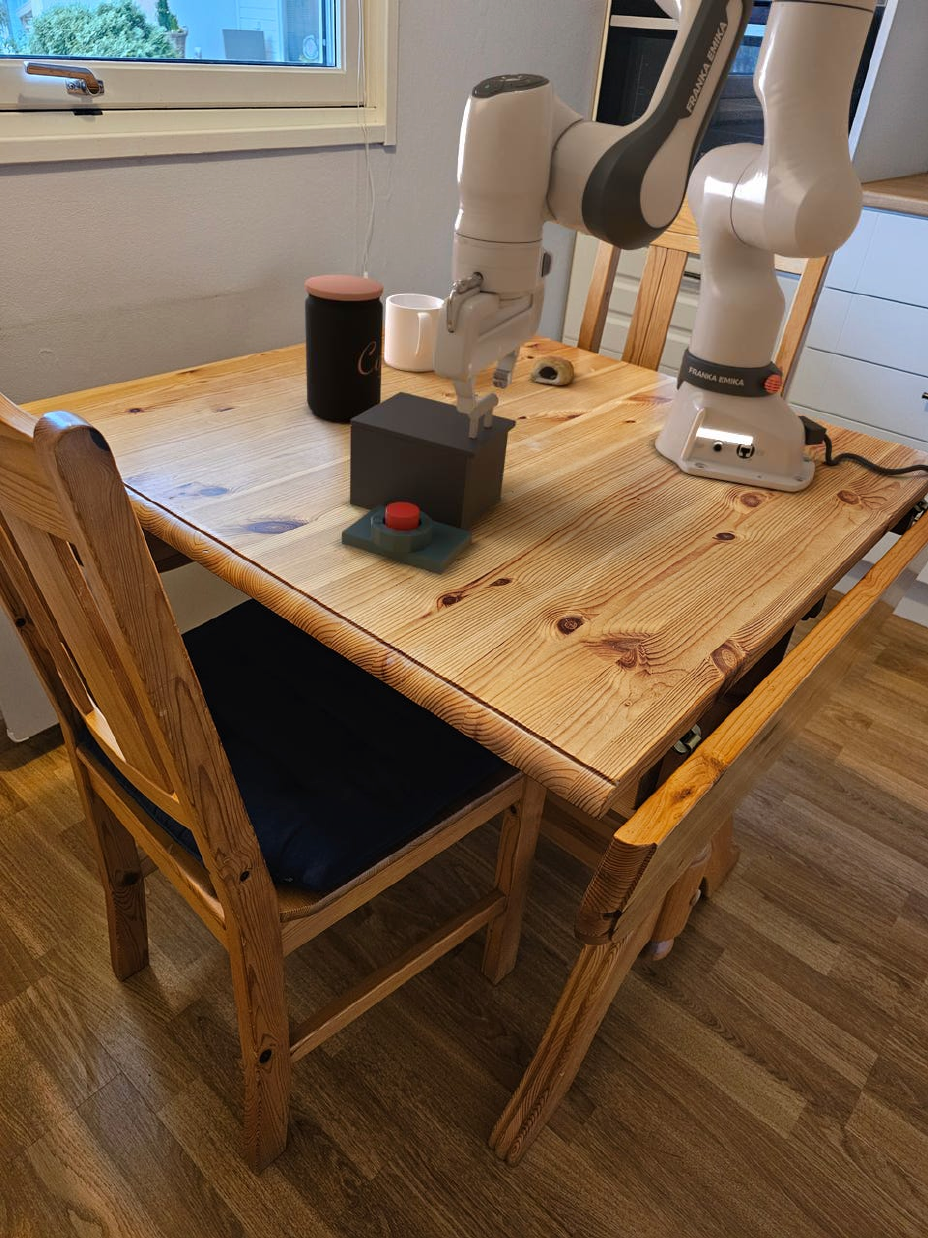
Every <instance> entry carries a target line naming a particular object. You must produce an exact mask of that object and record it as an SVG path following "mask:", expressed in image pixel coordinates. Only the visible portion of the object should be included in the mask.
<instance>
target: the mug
mask: <svg viewBox="0 0 928 1238" xmlns="http://www.w3.org/2000/svg"><path fill="white" fill-rule="evenodd" d="M443 301H444V299H441V298H439V297H436V296H433V295H428V294H427V295H426V294H420V293H398V294H397V293H396V294H393V295H389V296H387V298H386V300H385V324H384V325H385V327H384V362H385V364H386V365H387V366H389V367H390V368H393V369H396V370H399V371H404V372H411V373H424V372H432V371H434V368H433V354H434V344H435V335H436V327H437V320H438V314H439V310H440V307H441V304H442V302H443Z"/></svg>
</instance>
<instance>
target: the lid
mask: <svg viewBox="0 0 928 1238" xmlns="http://www.w3.org/2000/svg"><path fill="white" fill-rule="evenodd" d="M498 404H499V397H498V395H497V394H496V393H494V392H488V393H486V394H485V395H484V396H482V397H481V398H478V402H477V408H476V410H474V411H473V412H472V413H470V414H466V413H462V412H459V411H458V410H457V404H456V405H455V404H451V403H447V402H443V401H440V400H435V399H431V398H428V397H423V396H419V395H416V394H411V393H408V392H403V391H399V392H398V393H396V394H394V395H392V396H390V397H389V398H387V399H385V400H383V401H382V402H381V401H380V404H378V405H376V406H374V407H372V408H371V409H369V410H367V411H365V412H363V413H362V414H360V415H358V416H356V417H354V418H353V419H351V423H349V424H350V427H351V426H355V427H359V428H362V429H366V430H370V431H373V432H377V433H381V434H384V435H388V436H392V437H395V438H399V439H403V440H406V441H410V442H414V443H417V444H421V445H425V446H428V447H432V448H436V449H439V450H443V451H447V452H451V453H454V454H458V455H462V456H465V457H469V458H473V459H475V458H476V457H477V456H478V455H480V454H481V453H482V452H484V451H485V450H486V449H487V448H489V447H490V446H491V445H492V444H494V443H495V442H496V441H497V440H499V439H500V438H501V437H502V436H504V435H505V434H506V433H508V434H509V432H510V431H511V430H513V429H515V427H516V426H517V425H516V424H517V420H515V419H511V418H507V417H503V416H499V415H495V414H494V408H495V407H496V406H497V405H498Z"/></svg>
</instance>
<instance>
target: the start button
mask: <svg viewBox="0 0 928 1238" xmlns="http://www.w3.org/2000/svg"><path fill="white" fill-rule="evenodd" d="M419 512H420V510H419V508H418V507H417V506H416V505H414V504H411V503H406V502H396V503H392V504H389V505H388V506H387V507H386V514H385V524H386V526H387V527H388V528H391V529H394V530H401V531H409V530H413V529H417V528H418V526H419Z"/></svg>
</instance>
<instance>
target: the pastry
mask: <svg viewBox="0 0 928 1238" xmlns="http://www.w3.org/2000/svg"><path fill="white" fill-rule="evenodd" d="M574 374H575V367H574V365H573V363H572V361H570V360H568V359H565V358H562V357H561V356H550V355H548V356H543V357H541V358H540V359H538V360H537V361H535V363H534V364H533V367H532V370H531V372H530V377H531V379H532V381H533V382H535V383H538V384H542V385H543V384H545V385H547V384H550V385H554V386H565V385H567V384H569V383H570V382H572V379H573V377H574Z"/></svg>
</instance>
